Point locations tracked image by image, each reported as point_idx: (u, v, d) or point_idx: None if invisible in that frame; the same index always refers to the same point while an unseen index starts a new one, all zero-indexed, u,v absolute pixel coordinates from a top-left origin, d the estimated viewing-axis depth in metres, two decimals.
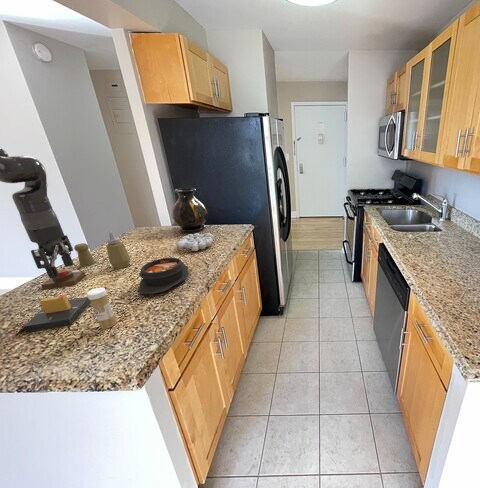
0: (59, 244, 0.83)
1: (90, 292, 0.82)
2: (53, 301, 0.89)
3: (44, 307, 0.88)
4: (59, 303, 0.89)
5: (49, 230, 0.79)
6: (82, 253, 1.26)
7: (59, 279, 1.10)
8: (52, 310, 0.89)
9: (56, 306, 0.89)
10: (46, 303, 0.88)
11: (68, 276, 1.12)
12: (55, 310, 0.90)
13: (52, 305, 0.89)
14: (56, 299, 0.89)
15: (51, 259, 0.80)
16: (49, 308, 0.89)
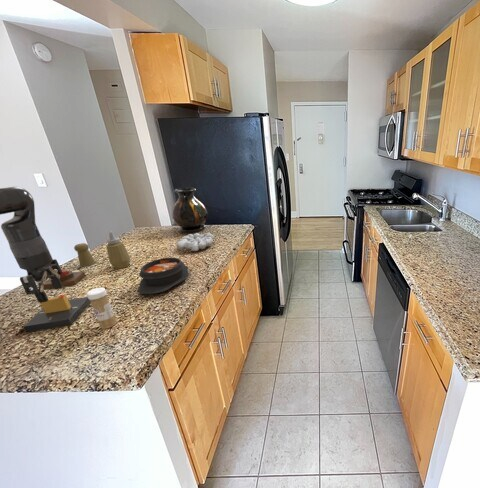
0: (48, 269, 0.86)
1: (90, 292, 0.82)
2: (53, 301, 0.89)
3: (44, 307, 0.88)
4: (59, 303, 0.89)
5: (37, 257, 0.81)
6: (82, 253, 1.26)
7: None
8: (52, 310, 0.89)
9: (56, 306, 0.89)
10: (46, 303, 0.88)
11: (68, 276, 1.12)
12: (55, 310, 0.90)
13: (52, 305, 0.89)
14: (56, 299, 0.89)
15: (40, 284, 0.83)
16: (49, 308, 0.89)
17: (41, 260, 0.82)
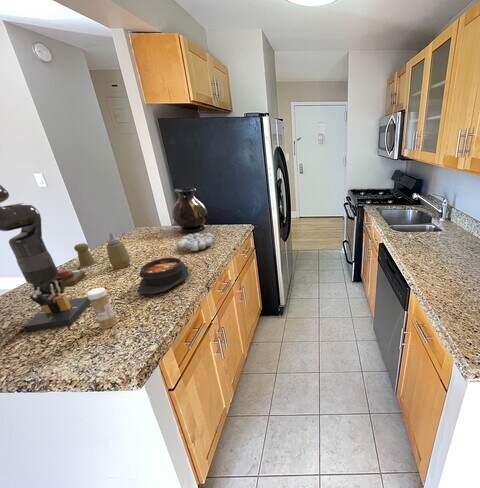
0: (54, 282, 0.88)
1: (90, 292, 0.82)
2: None
3: (44, 307, 0.88)
4: (59, 303, 0.89)
5: (44, 271, 0.83)
6: (82, 253, 1.26)
7: None
8: None
9: None
10: None
11: (68, 276, 1.12)
12: None
13: None
14: (56, 299, 0.89)
15: (51, 297, 0.87)
16: None
17: (47, 274, 0.84)
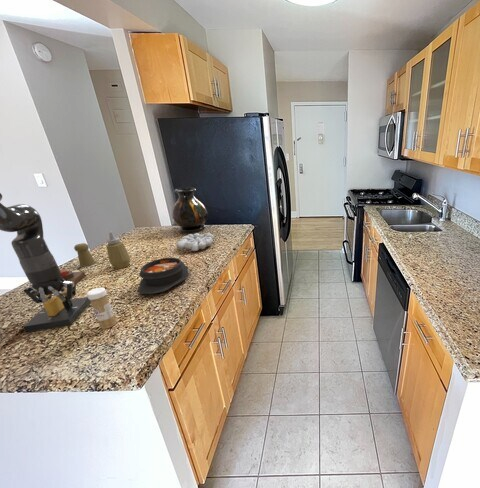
0: None
1: (90, 292, 0.82)
2: (57, 299, 0.90)
3: (53, 308, 0.88)
4: (61, 300, 0.91)
5: (57, 265, 0.88)
6: (82, 253, 1.26)
7: None
8: (58, 309, 0.90)
9: (60, 304, 0.91)
10: (54, 303, 0.88)
11: (68, 276, 1.12)
12: (60, 308, 0.91)
13: (57, 304, 0.90)
14: None
15: (66, 292, 0.90)
16: (56, 308, 0.89)
17: None
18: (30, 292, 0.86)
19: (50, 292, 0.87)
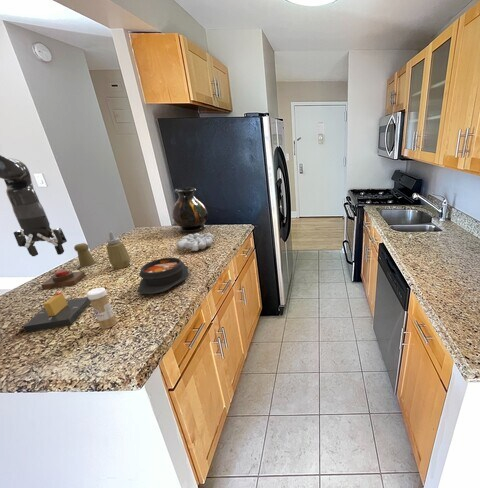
0: None
1: (90, 292, 0.82)
2: (57, 299, 0.90)
3: (53, 308, 0.88)
4: (61, 300, 0.91)
5: (46, 216, 1.00)
6: (82, 253, 1.26)
7: (59, 279, 1.10)
8: (58, 309, 0.90)
9: (60, 304, 0.91)
10: (54, 303, 0.88)
11: (68, 276, 1.12)
12: (60, 308, 0.91)
13: (57, 304, 0.90)
14: (58, 296, 0.90)
15: (56, 238, 1.02)
16: (56, 308, 0.89)
17: None
18: (19, 235, 0.97)
19: (39, 239, 0.99)
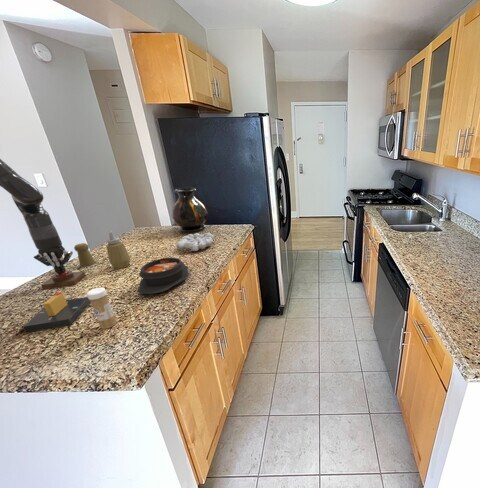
0: None
1: (90, 292, 0.82)
2: (57, 299, 0.90)
3: (53, 308, 0.88)
4: (61, 300, 0.91)
5: None
6: (82, 253, 1.26)
7: (59, 279, 1.10)
8: (58, 309, 0.90)
9: (60, 304, 0.91)
10: (54, 303, 0.88)
11: (68, 276, 1.12)
12: (60, 308, 0.91)
13: (57, 304, 0.90)
14: (58, 296, 0.90)
15: (62, 259, 1.11)
16: (56, 308, 0.89)
17: None
18: (39, 257, 1.07)
19: (52, 257, 1.08)
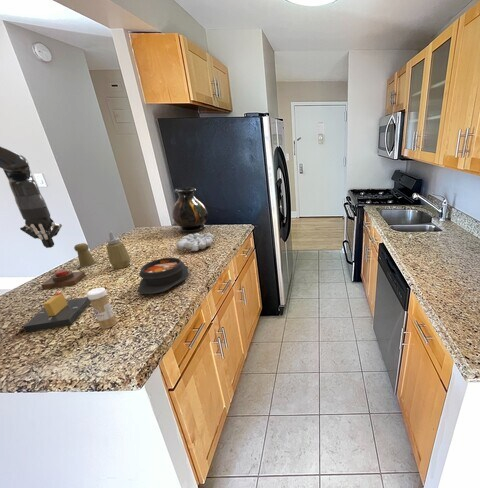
0: None
1: (90, 292, 0.82)
2: (57, 299, 0.90)
3: (53, 308, 0.88)
4: (61, 300, 0.91)
5: None
6: (82, 253, 1.26)
7: (59, 279, 1.10)
8: (58, 309, 0.90)
9: (60, 304, 0.91)
10: (54, 303, 0.88)
11: (68, 276, 1.12)
12: (60, 308, 0.91)
13: (57, 304, 0.90)
14: (58, 296, 0.90)
15: (50, 232, 1.07)
16: (56, 308, 0.89)
17: None
18: (26, 229, 1.02)
19: (40, 229, 1.04)
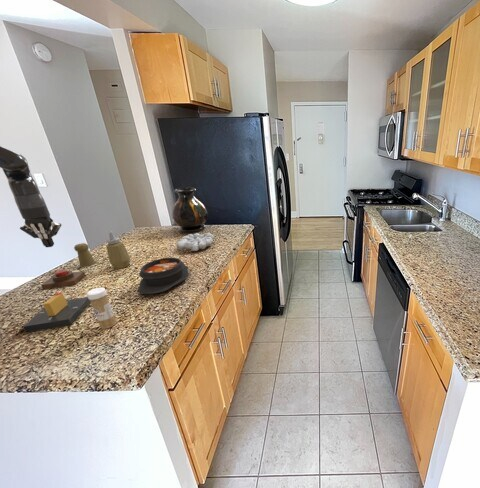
0: None
1: (90, 292, 0.82)
2: (57, 299, 0.90)
3: (53, 308, 0.88)
4: (61, 300, 0.91)
5: None
6: (82, 253, 1.26)
7: (59, 279, 1.10)
8: (58, 309, 0.90)
9: (60, 304, 0.91)
10: (54, 303, 0.88)
11: (68, 276, 1.12)
12: (60, 308, 0.91)
13: (57, 304, 0.90)
14: (58, 296, 0.90)
15: (50, 231, 1.06)
16: (56, 308, 0.89)
17: None
18: (26, 228, 1.02)
19: (40, 229, 1.03)
